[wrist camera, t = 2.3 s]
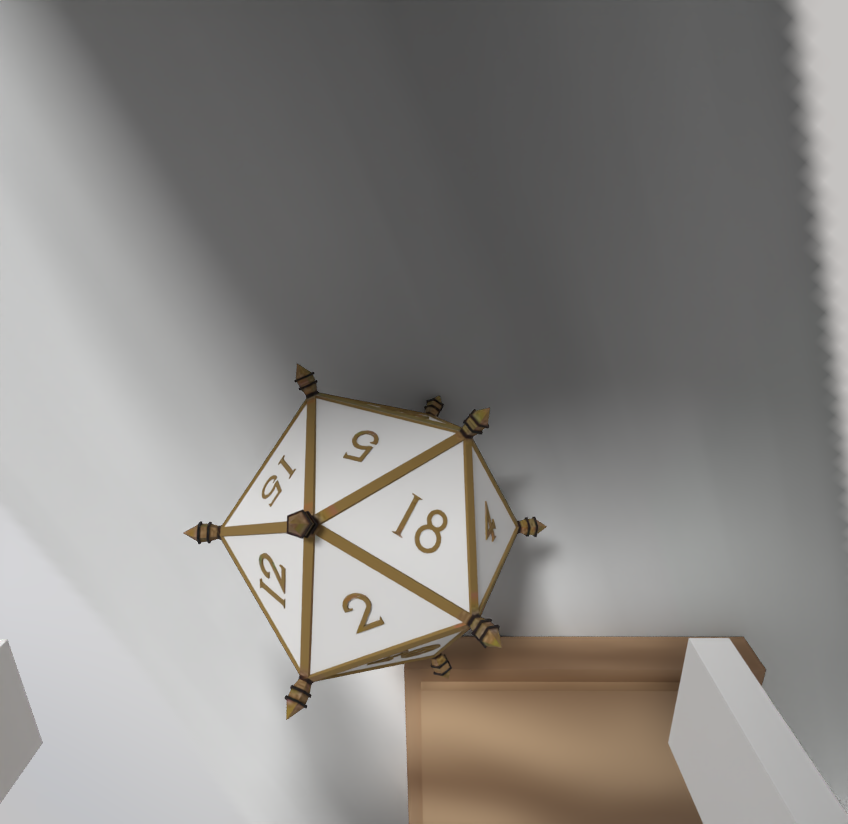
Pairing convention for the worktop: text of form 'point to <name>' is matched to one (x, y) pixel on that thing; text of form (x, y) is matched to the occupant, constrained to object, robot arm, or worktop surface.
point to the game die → (370, 537)
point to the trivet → (550, 732)
